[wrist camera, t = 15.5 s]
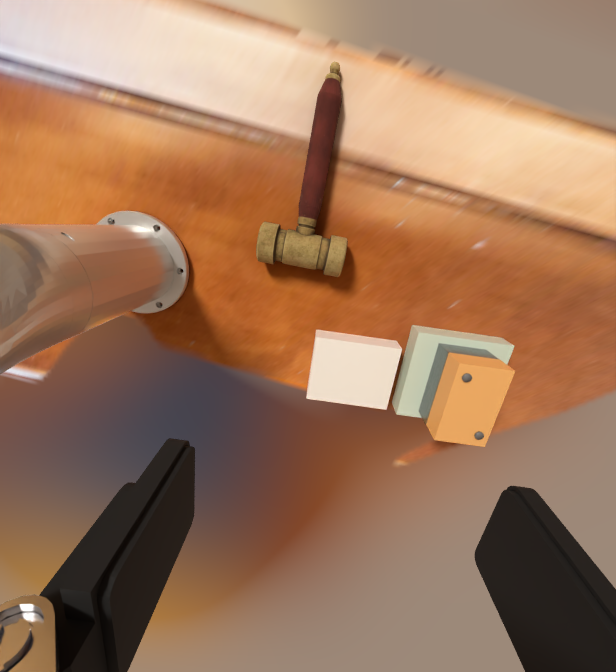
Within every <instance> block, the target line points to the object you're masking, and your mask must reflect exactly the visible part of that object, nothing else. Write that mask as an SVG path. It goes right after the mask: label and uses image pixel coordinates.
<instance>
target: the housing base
mask: <svg viewBox="0 0 616 672" xmlns="http://www.w3.org/2000/svg"><path fill="white" fill-rule="evenodd" d="M448 353H456V354H464V355H471V356H478V357H485V358H492V359H498V358H497V357H495V356H494V355H493V354H491V353H490V352H489V351H487V350H485V349H478V348H471V347H464V346H456V345H449V344H442V343H439V344H438V347H437V351H436V354H435V357H434V361H433V364H432V367H431V371H430V374H429V378H428V381H427V384H426V388H425V391H424V394H423V398H422V401H421V404H420V408H419V413H420V415H421V417H422V419H423V421H424V422H425V424H426V423H427V420H428V417H429V414H430V410H431V407H432V404H433V401H434V398H435V395H436V391H437V388H438V385H439V382H440V379H441V375H442V372H443V369H444V366H445V363H446V359H447V356H448Z"/></svg>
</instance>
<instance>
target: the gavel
mask: <svg viewBox="0 0 616 672" xmlns="http://www.w3.org/2000/svg"><path fill="white" fill-rule="evenodd" d="M339 71H340V65H339V63H338V62H333V63H332V64H331V66H330V73H329V74H327V76H326V79H325V82H324V84H323V86H322V88H321V90H320V92H319V94H318V97H317V103H316V109H315V115H314V120H313V126H312V132H311V138H310V144H309V149H308V155H307V161H306V167H305V173H304V179H303V184H302V190H301V196H300V202H299V218H298V224H299V226H297V228H296V231H295V230H290V229H288V230H283V229H281V228H280V225H279V224H275V223H270V222H263V223H262V225H261V227H260V230H259V234H258V240H257V248H256V255H257V259H258V261H260V262H265V263H270V264H274V263H275V261H280V262H282V263H283V264H288V265H293V266H298V267H303V268H308V269H313V270H315V269H320V270H324V273H323V274H325V275H330V276H335V277H339V276H340V274H341V272H342V268H343V265H344V260H345V256H346V251H347V244H348V241H347V238H343V237H338V236H333V235H331V238H330V239H327V238H322V236H319V235H314V234H315V230H314V227H316V222H317V218H318V216H319V213H320V210H321V205H322V200H323V195H324V190H325V184H326V179H327V174H328V169H329V164H330V158H331V153H332V148H333V143H334V137H335V132H336V127H337V122H338V117H339V111H340V106H341V89H340V81H341V79H340V77H339V76H338V73H339Z"/></svg>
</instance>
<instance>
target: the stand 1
mask: <svg viewBox="0 0 616 672" xmlns="http://www.w3.org/2000/svg"><path fill="white" fill-rule="evenodd" d="M401 351H402V348H401V347H400V345H399V344H398V342H397V341H394V340H387V339H380V338H373V337H366V336H358V335H351V334H344V333H337V332H330V331H323V330H316V334H315V341H314V348H313V354H312V361H311V367H310V374H309V381H308V387H307V399H314V400H320V401H327V402H334V403H342V404H349V405H356V406H363V407H370V408H377V409H384V410H386V409H387V406H388V402H389V398H390V394H391V390H392V386H393V382H394V378H395V375H396V371H397V367H398V363H399V359H400V355H401Z"/></svg>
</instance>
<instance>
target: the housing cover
mask: <svg viewBox="0 0 616 672" xmlns="http://www.w3.org/2000/svg"><path fill="white" fill-rule="evenodd" d="M514 373H515V370H513V369H512V368H511V367H509V366H508V365H507V364H505V363H504V362H503V361H501V360H500V359H492V358H485V357H478V356H471V355H464V354H456V353H448V356H447V359H446V363H445V366H444V369H443V372H442V375H441V379H440V382H439V385H438V388H437V391H436V395H435V398H434V401H433V404H432V407H431V410H430V414H429V417H428V420H427V423H426V425H427V427H428V429H429V431H430V433H431V435H432V437H433V439H434V440H437V441H445V442H452V443H459V444H466V445H474V446H481V447H485V445H486V442H487V440H488V437H489V435H490V433H491V430H492V428H493V425H494V423H495V420H496V418H497V415H498V413H499V410H500V408H501V405H502V403H503V400H504V398H505V395H506V393H507V390H508V388H509V385H510V383H511V381H512V378H513V376H514Z"/></svg>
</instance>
